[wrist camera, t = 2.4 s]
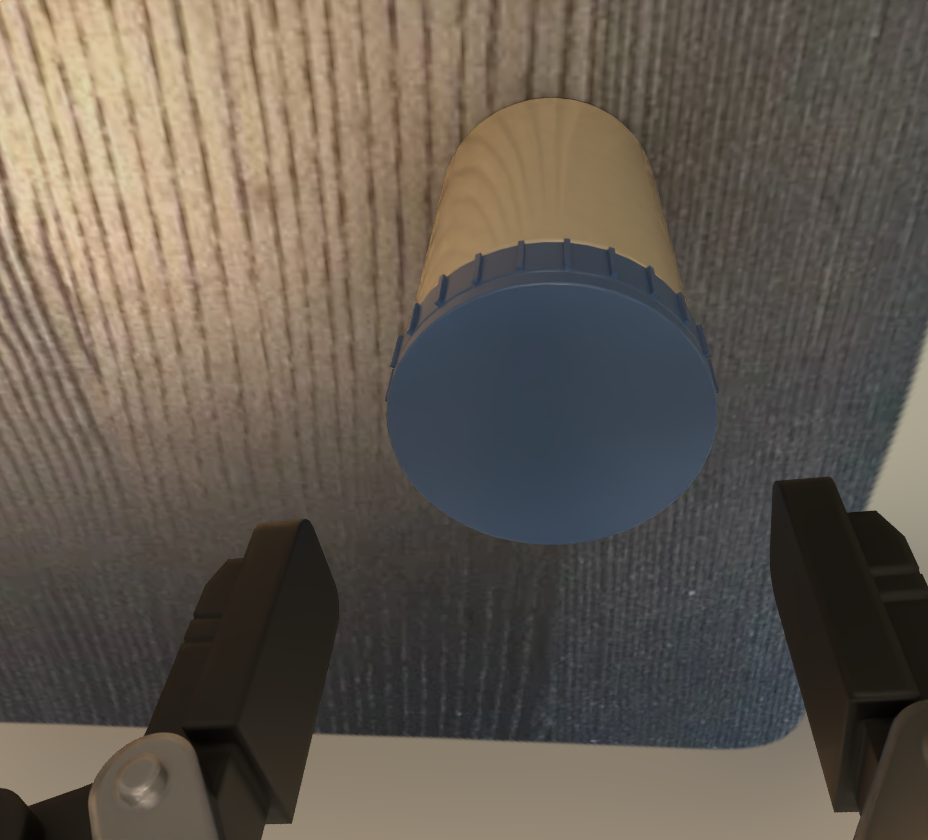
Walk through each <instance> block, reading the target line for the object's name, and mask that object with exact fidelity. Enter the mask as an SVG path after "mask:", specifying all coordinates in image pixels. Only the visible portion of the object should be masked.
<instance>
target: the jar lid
mask: <svg viewBox="0 0 928 840" xmlns="http://www.w3.org/2000/svg"><path fill="white" fill-rule="evenodd" d="M709 357H711V354H710V351H709V347H708V344H707V340H706V337H705V333H704V329H703V327H702V324H699V325H696V323H695V321H694V319H693V317H692V315H691V313H690V311H689V310H688V308H687V305H686V302H685V298H684V295H683V294H682V292H679V293H678V294H676V293H675V292H674V291H673V290H672V289H671V288H670V287H669V286H668V285H667V284H666V283H665V282H664V281H663V280H662V279H660V278H659V277H658V276H656V275H655V271H654V268H653V267H652V266H650V265H649V266H648V267H647V268H645V267H643V266H641V265H640V264H638V263H636V262H634V261H633V260H631V259H629V258H626V257H624V256H621V255H619V254H616V253H615V248H613V247H609V248H608V250H605V249H601V248H597V247H593V246H589V245H583V244H575V243H570V239H567V238H564V242H540V243H530V244H525V242H524V240H522V241H518V245H517V246H513V247H509V248H504V249H500V250H498V251H495V252H492V253H489V254H487V255H483V256H482V254H481V252H480V253H478V254H476V255H475V260H473V261H471V262H469V263H467V264H465V265H463V266H462V267H460V268H459V269H457V270H456V271H454V272H453V273H451V274H450V275H448V276H447V277H446V276H445V275H444V274H443V275H441V276H440V277H439V282H438V285H437V286H436V287H434V288H433V289H432V290H431V291H430V292H429V293H428V295H427V296H426V297H425V298H424V299H423V301H422V302H421V303H420V304H418V303H417V302H415V304H414V305H413V308H412V312H411V316H410V320H409V322H408V324H407V327H406V329H405V332H404V334H403V336H402V335H398V338H397V341H396V345H395V349H394V353H393V357H392V361H391V365H390V367H392V368H394V369H392V373H391V377H390V381H389V385H388V389H387V393H386V402H387V412H386V416H387V426H388V433H389V437H390V441H391V445H392V448H393V451H394V453H395V455H396V458H397V460H398V462H399V464H400V466H401V468H402V469H403V471H404V473H405V474H406V476H407V477H408V479H409V480H410V481H411V483H412V484H413V485H414V486H415V488H416V489H417V490H418V491H419V492H420V493H421V494H422V495H423V496H424V497H425V498H426V499H427V500H428V501H429V502H430V503H431V504H432V505H434V506H435V507H437V508H438V509H439V510H441V511H442V512H443V513H445V514H446V515H448V516H449V517H451V518H453V519H454V520H456V521H458V522H459V523H461V524H463V525H465V526H468V527H470V528H472V529H474V530H477V531H479V532H482V533H485V534H488V535H491V536H494V537H497V538H501V539H506V540H510V541H514V542H521V543H529V544H543V545H560V544H575V543H581V542H588V541H594V540H598V539H602V538H606V537H610V536H613V535H615V534H618V533H621V532H624V531H627V530H629V529H631V528H633V527H635V526H637V525H640V524H642V523H644V522H646V521H647V520H649V519H651V518H652V517H654V516H655V515H657V514H659V513H660V512H662V511H663V510H664V509H665V508H667V507H668V506H669V505H671V504H672V503H673V502H674V501H676V500H677V499H678V498H679V497H680V496H681V494H682V493H683V492H684V491H685V490H686V489H687V488H688V487H689V486H690V485H691V483H692V482H693V481H694V479H695V478H696V477H697V475H698V474H699V472H700V471H701V469H702V467H703V465H704V463H705V462H706V460H707V458H708V455H709V453H710V450H711V447H712V444H713V442H714V438H715V433H716V427H717V416H718V404H717V397H716V393H718V385H717V382H716V378H715V374H714V371H713V367H712V363H711V360H710V359H707V358H709Z"/></svg>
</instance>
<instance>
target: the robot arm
mask: <svg viewBox="0 0 928 840" xmlns="http://www.w3.org/2000/svg"><path fill="white" fill-rule="evenodd" d="M770 571H771V579H772V586H773V592H774V596H775V600H776V604H777V608H778V611H779V615H780V618H781V622H782V626H783V629H784V633H785V636H786V640H787V644H788V647H789V651H790V654H791V658H792V662H793V665H794V669H795V672H796V676H797V680H798V683H799V687H800V690H801V694H802V698H803V701H804V705H805V708H806V712H807V716H808V719H809V723H810V726H811V730H812V734H813V737H814V741H815V744H816V748H817V751H818V755H819V758H820V762H821V766H822V769H823V773H824V777H825V780H826V784H827V787H828V791H829V795H830V798H831V802H832V806H833V809H834V812H859V814H860V816H861V817H860V821H859V823H858V826H857V829H856V832H855V835H854V838H853V840H928V586H927V583H926V582H925V579H924V577H923V575H922V574H920V572H919V567H918V564H917V562H916V560H915V558H914V556H913V553H912V551H911V549H910V547H909V545H908V543H907V541H906V538H905V536H903V535H902V534H901V533H900V532H899V531H898V530H897V529H896V528H895V527H894V526H892V525H891V524H890V523H889V522H888V521H887V520H886V519H885V518H884V517H882V516H881V515H880V514H879V513H878V512H877V511H863V512H851V513H847V512H846V510H845V507H844V505H843V502H842V500H841V497H840V495H839V492H838V490H837V487H836V485H835V483H834V481H833V479H832V478H831V477H818V478H806V479H794V480H782V481H775V482H774V485H773V492H772V515H771V538H770ZM193 615H194V620H191V622H190V624H189V627H188V629H187V632H186V634H185V637H184V639H185V642H184V644H181V647H180V649H179V652H178V654H177V657H176V659H175V662H174V664H173V667H172V669H171V671H170V674H169V676H168V679H167V681H166V684H165V686H164V689H163V691H162V694H161V696H160V699H159V701H158V704H157V706H156V709H155V711H154V714H153V716H152V719H151V721H150V724H149V726H148V728H147V731H146V733H145V735H144V736H143V737H141V738H138V739H136V740H134V741H132V742H131V743H129V744H127V745H126V746H124V747H123V748H121V749H120V750H119V751H117V752H116V753H115V754H114V755H113V756H112V757H111V758H110V759H109V760H108V761H107V762H106V763H105V765H104V766H103V767H102V769H101V770H100V772H99V773H98V774H97V776H96V778H95V780H94V782H93V783H91V784H89V785H87V786H84V787H82V788H79V789H76V790H73V791H70V792H67V793H64V794H62V795H59V796H56V797H53V798H50V799H47V800H44V801H42V802H39V803H36V804H33V805H30V806H27V805H26V804H25V802H24V801H23V800H22V799H21V798H20V797H19V796H18V795H17V794H16V793H14V792H13V791H11V790H8V789H3V788H0V840H261V838H262V834H263V830H264V826H265V824H291V823H292V820H293V816H294V812H295V807H296V803H297V799H298V795H299V790H300V786H301V782H302V777H303V773H304V769H305V765H306V760H307V756H308V752H309V747H310V743H311V739H312V735H313V730H314V726H315V722H316V717H317V713H318V709H319V704H320V700H321V696H322V692H323V687H324V683H325V679H326V674H327V670H328V666H329V662H330V657H331V653H332V649H333V644H334V640H335V636H336V631H337V627H338V621H339V599H338V592H337V588H336V585H335V582H334V579H333V577H332V574H331V572H330V569H329V566H328V564H327V561H326V559H325V556H324V553H323V551H322V548H321V546H320V543H319V540H318V538H317V535H316V533H315V530H314V528H313V526H312V524H311V522H310V521H309V520H307V519H302V520H290V521H278V522H266V523H260V524H258V525H257V526H256V528H255V529H254V531H253V534H252V537H251V539H250V542H249V545H248V547H247V550H246V553H245V556H244V558H238V559H228V560H227V561H226V562H225V563H224V564H223V566H222V567H221V568H220V569H219V570H218V571H217V573H216V574H215V575H214V576H213V577H212V578H211V579H210V581H209V582H208V583H207V584H206V585H205V587H204V590H203V592H202V595H201V597H200V600H199V602H198V605H197V607H196V610H195V612H194V614H193Z"/></svg>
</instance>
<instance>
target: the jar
mask: <svg viewBox="0 0 928 840" xmlns="http://www.w3.org/2000/svg"><path fill="white" fill-rule="evenodd" d="M564 238H567V239H570V243H575V244H583V245H589V246H593V247H597V248H601V249H605V250H608V248H609V247H613V248H615V253H616V254H619V255H621V256H624V257H626V258H629V259H631V260H633V261H634V262H636V263H638V264H640V265H641V266H643V267H645V268H647V267H648V266H649V265H650V266H652V267H653V268H654V271H655V275H656V276H658V277H659V278H660V279H662V280H663V281H664V282H665V283H666V284H667V285H668V286H669V287H670V288H671V289H672V290H673V291H674V292H675V293H676V294H678V293H679V292H682V294H683V295H684V298H685V302H686V305H687V308H688V310H689V307H688V303H687V300H686V296H685V292H684V288H683V284H682V281H681V277H680V273H679V269H678V265H677V262H676V258H675V254H674V250H673V247H672V243H671V239H670V235H669V231H668V228H667V224H666V220H665V216H664V212H663V209H662V205H661V201H660V197H659V193H658V190H657V186H656V182H655V178H654V174H653V171H652V168H651V165H650V162H649V159H648V157H647V155H646V153H645V151H644V149H643V148H642V146H641V145H640V143H639V142H638V140H637V139H636V137H635V136H634V135H633V134H632V133H631V132H630V131H629V130H628V128H627V127H626V126H624V125H623V124H622V123H621V122H620V121H618V120H617V119H616V118H615V117H613V116H611V115H610V114H608V113H607V112H605V111H603V110H601V109H599V108H597V107H594V106H592V105H590V104H587V103H583V102H580V101H576V100H570V99H563V98H540V99H533V100H527V101H524V102H520V103H516V104H513V105H511V106H509V107H506V108H504V109H501V110H500V111H498V112H496V113H494V114H493V115H491V116H489V117H488V118H486V119H485V120H484V121H482V122H481V123H480V124H479V125H477V126H476V127H475V128H474V129H473V130H472V131H471V132H470V133H469V134H468V135H467V136H466V138H465V139H464V140H463V142H462V143H461V144H460V146H459V147H458V148H457V150H456V152H455V154H454V156H453V157H452V159H451V161H450V164H449V167H448V169H447V172H446V175H445V179H444V184H443V188H442V192H441V196H440V200H439V205H438V209H437V213H436V217H435V221H434V225H433V230H432V234H431V238H430V242H429V246H428V251H427V255H426V259H425V263H424V267H423V272H422V276H421V280H420V284H419V288H418V293H417V297H416V301H415V302H417V303H418V304H420V303H421V302H422V301H423V299H424V298H425V297H426V296H427V295H428V293H429V292H430V291H431V290H432V289H433V288H434V287H436V286H437V285H438V282H439V277H440V276H441V275H443V274H444V275H445V276H446V277H447V276H448V275H450V274H451V273H453V272H454V271H456V270H457V269H459V268H460V267H462V266H463V265H465V264H467V263H469V262H471V261H473V260H475V255H476V254H478V253H480V252H481V254H482V256H483V255H487V254H489V253H492V252H495V251H498V250H500V249H504V248H509V247H513V246H517V245H518V241H522V240H524V242H525V244H530V243H540V242H564Z"/></svg>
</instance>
